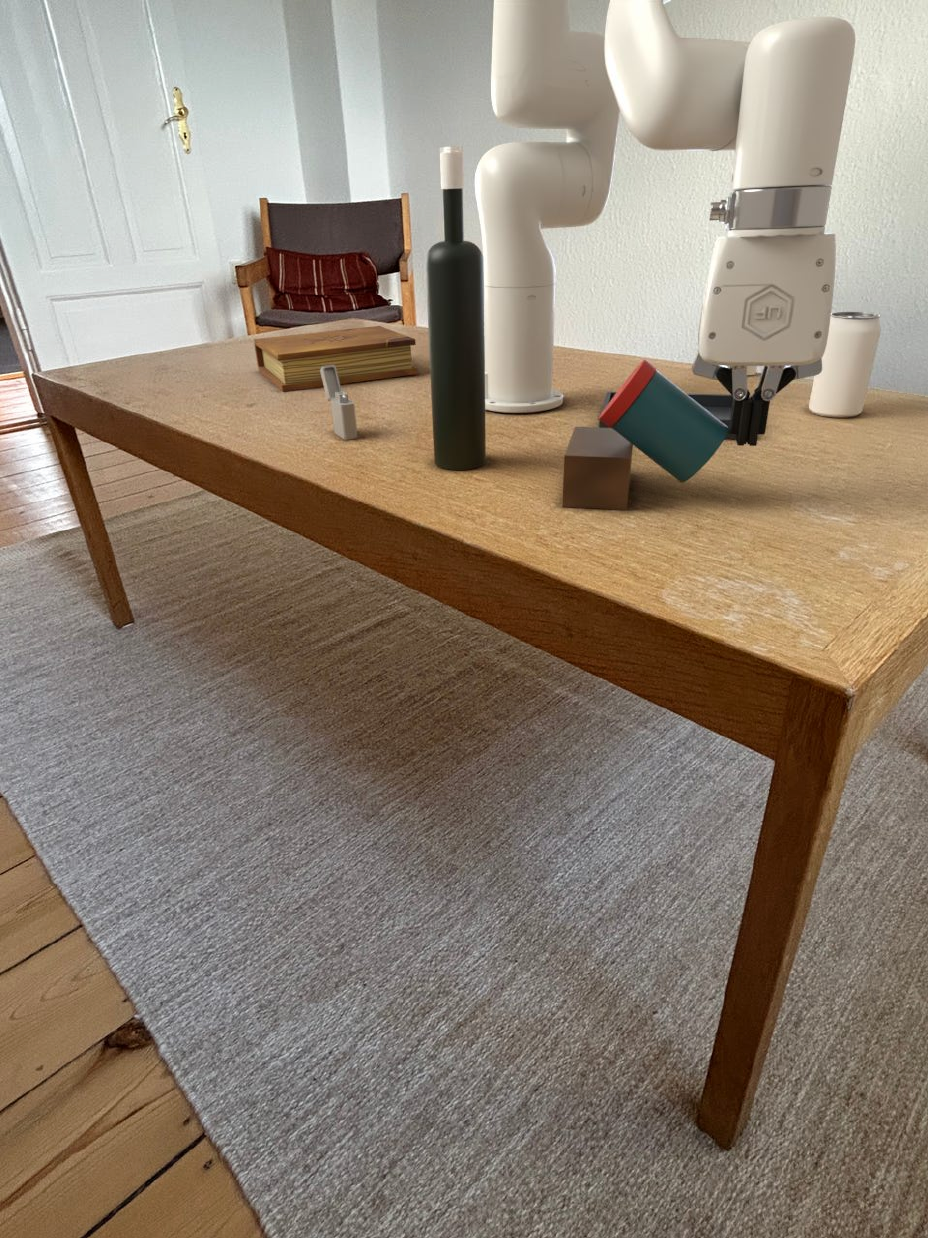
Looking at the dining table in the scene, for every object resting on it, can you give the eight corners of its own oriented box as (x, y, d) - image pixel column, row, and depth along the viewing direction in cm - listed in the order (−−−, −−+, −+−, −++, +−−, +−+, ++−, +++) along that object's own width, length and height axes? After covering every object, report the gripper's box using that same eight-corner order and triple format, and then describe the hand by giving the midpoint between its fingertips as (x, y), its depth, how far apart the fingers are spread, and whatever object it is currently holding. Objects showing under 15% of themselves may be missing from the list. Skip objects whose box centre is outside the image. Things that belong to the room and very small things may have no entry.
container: (602, 498, 72) (588, 375, 67) (611, 475, 77) (598, 360, 72) (730, 487, 68) (726, 355, 63) (730, 464, 73) (726, 341, 68)
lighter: (358, 437, 94) (351, 371, 90) (344, 439, 93) (337, 373, 89) (338, 425, 99) (332, 362, 95) (326, 427, 99) (319, 364, 95)
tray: (598, 434, 92) (599, 415, 91) (605, 408, 104) (606, 391, 102) (745, 439, 89) (748, 420, 88) (736, 412, 100) (738, 394, 99)
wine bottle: (436, 454, 87) (422, 149, 72) (486, 454, 86) (482, 147, 72) (432, 470, 82) (417, 145, 67) (485, 470, 81) (481, 143, 67)
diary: (380, 357, 141) (378, 325, 139) (417, 375, 127) (415, 338, 124) (258, 371, 133) (253, 337, 130) (282, 391, 118) (277, 353, 116)
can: (867, 419, 95) (891, 318, 89) (812, 417, 96) (832, 318, 91) (854, 406, 101) (876, 311, 95) (803, 405, 102) (821, 311, 96)
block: (562, 506, 71) (564, 455, 69) (572, 473, 80) (575, 426, 77) (626, 510, 70) (630, 458, 68) (630, 476, 78) (634, 428, 76)
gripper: (681, 219, 59) (661, 451, 67) (890, 210, 55) (841, 455, 64) (679, 219, 65) (661, 430, 74) (866, 211, 62) (824, 433, 70)
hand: (745, 441), depth 69 cm, fingers closed
